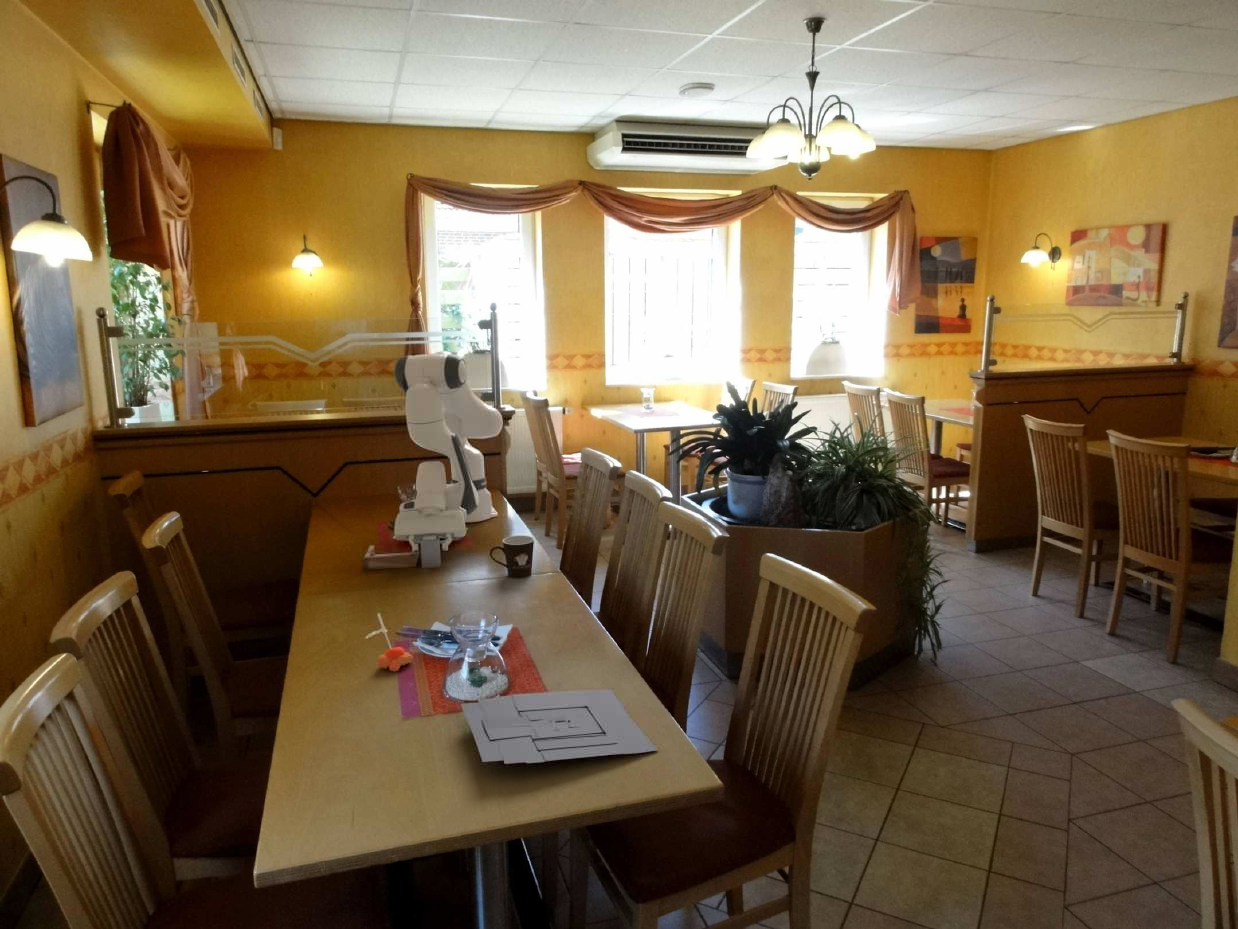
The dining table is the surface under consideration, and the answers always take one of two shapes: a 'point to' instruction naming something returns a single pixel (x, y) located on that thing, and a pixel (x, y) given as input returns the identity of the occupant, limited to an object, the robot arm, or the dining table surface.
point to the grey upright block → (430, 551)
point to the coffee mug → (517, 555)
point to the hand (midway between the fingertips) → (430, 550)
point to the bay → (389, 559)
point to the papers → (553, 726)
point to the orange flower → (391, 653)
